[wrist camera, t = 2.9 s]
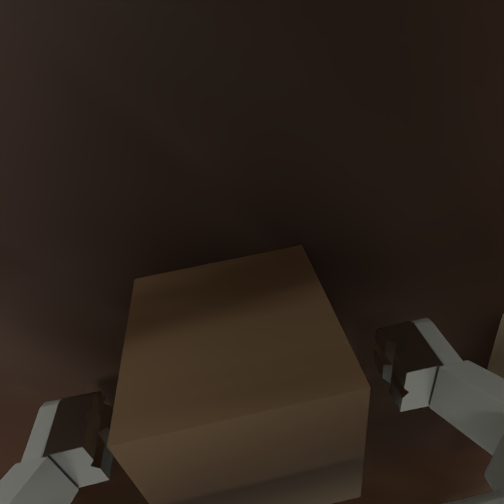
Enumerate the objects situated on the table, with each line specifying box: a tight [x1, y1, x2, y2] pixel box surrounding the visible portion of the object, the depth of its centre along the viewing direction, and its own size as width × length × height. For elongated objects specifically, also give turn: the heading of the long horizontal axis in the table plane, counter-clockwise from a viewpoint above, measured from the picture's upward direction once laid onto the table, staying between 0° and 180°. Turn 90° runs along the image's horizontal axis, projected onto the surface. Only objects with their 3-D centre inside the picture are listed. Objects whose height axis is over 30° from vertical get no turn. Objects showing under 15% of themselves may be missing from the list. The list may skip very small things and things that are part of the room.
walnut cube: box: [107, 245, 371, 504], centre depth 10 cm, size 5×5×5 cm
